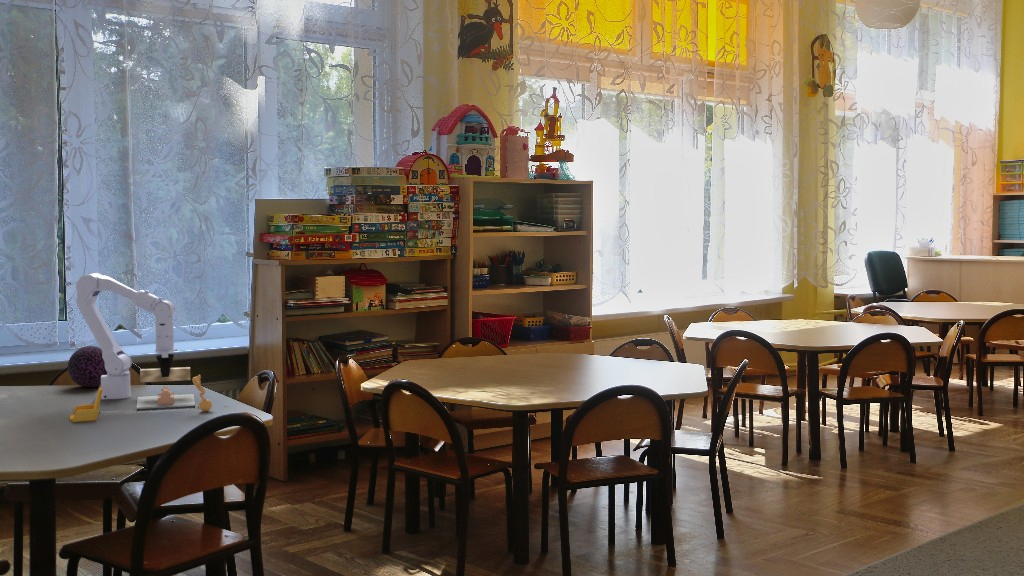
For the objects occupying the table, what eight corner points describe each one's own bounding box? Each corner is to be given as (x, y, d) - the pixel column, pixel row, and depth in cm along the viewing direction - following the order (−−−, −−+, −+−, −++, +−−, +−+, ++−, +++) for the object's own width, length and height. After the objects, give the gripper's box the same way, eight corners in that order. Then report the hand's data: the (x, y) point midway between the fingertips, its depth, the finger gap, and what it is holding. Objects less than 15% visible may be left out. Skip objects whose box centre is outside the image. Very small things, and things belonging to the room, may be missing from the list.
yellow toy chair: (70, 416, 319) (69, 387, 319) (102, 414, 323) (102, 385, 322) (69, 422, 310) (68, 392, 309) (103, 420, 313) (102, 390, 313)
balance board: (136, 411, 327) (136, 394, 326) (138, 400, 346) (137, 384, 345) (195, 408, 333) (194, 391, 332) (193, 397, 351) (193, 381, 351)
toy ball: (102, 390, 364) (101, 349, 363) (60, 390, 364) (59, 348, 363) (119, 383, 379) (118, 343, 378) (79, 383, 379) (78, 343, 378)
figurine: (215, 413, 324) (214, 375, 324) (195, 414, 321) (195, 377, 321) (208, 408, 332) (208, 372, 331) (189, 410, 329) (189, 373, 328)
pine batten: (140, 382, 342) (140, 370, 342) (140, 380, 345) (140, 369, 345) (190, 380, 347) (190, 368, 347) (190, 378, 350) (190, 367, 350)
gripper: (177, 338, 339) (178, 378, 340) (176, 333, 353) (177, 372, 354) (154, 339, 337) (155, 379, 338) (155, 334, 351) (156, 373, 352)
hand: (165, 376), depth 346 cm, fingers closed on pine batten, 3 cm apart
